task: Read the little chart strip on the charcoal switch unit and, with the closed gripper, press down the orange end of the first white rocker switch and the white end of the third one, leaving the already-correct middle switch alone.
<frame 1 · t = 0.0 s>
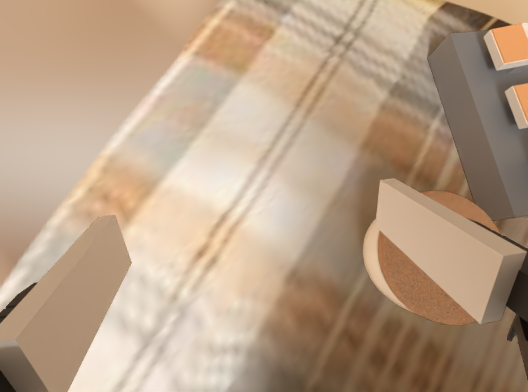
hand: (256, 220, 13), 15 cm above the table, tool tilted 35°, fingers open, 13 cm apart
lidded jar: (394, 254, 29), on the table
switch 3: (526, 43, 29), point 6 cm above the table, hinge at -10.0°
switch unit: (503, 128, 34), on the table
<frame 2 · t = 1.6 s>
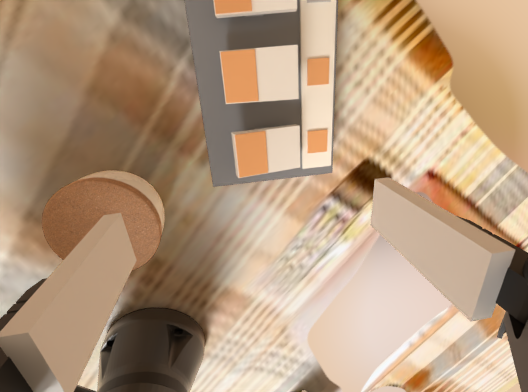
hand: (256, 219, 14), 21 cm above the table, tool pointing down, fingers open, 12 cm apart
switch 2: (260, 75, 24), point 6 cm above the table, hinge at -10.0°
lidded jar: (128, 199, 34), on the table
switch 1: (267, 150, 27), point 6 cm above the table, hinge at 10.0°
switch unit: (262, 76, 30), on the table
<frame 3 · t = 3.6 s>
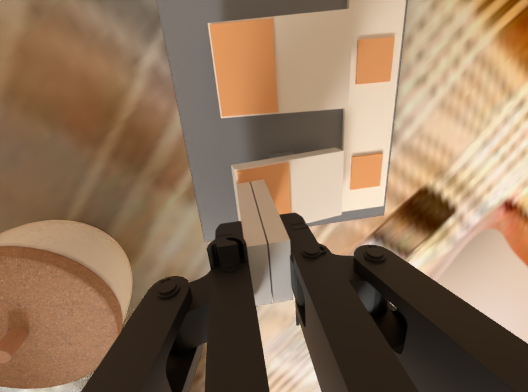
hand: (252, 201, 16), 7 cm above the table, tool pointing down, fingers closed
switch 2: (281, 68, 14), point 6 cm above the table, hinge at -10.0°
lidded jar: (83, 253, 23), on the table
switch 1: (291, 192, 17), point 6 cm above the table, hinge at 9.7°, touching gripper
switch unit: (278, 71, 20), on the table
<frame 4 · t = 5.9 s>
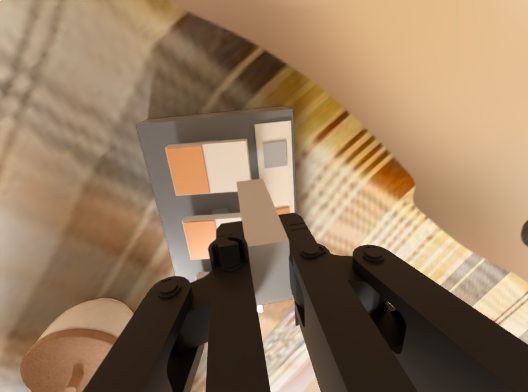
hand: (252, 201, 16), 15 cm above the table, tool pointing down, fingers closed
switch 2: (221, 236, 26), point 6 cm above the table, hinge at -10.0°
lidded jar: (107, 314, 35), on the table
switch 1: (230, 292, 29), point 6 cm above the table, hinge at -16.6°
switch 3: (210, 168, 23), point 6 cm above the table, hinge at -10.0°
switch unit: (230, 208, 32), on the table
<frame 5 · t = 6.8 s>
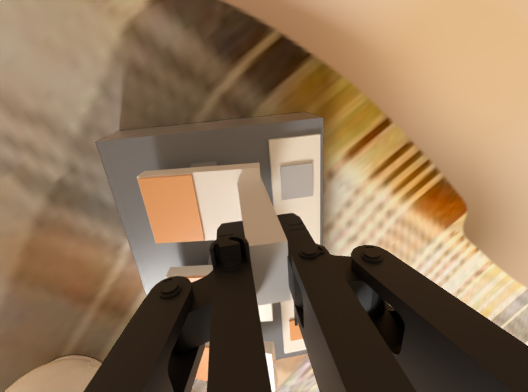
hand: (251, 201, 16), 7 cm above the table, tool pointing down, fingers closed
switch 2: (222, 295, 19), point 6 cm above the table, hinge at -10.0°
lidded jar: (77, 373, 28), on the table
switch 1: (233, 361, 21), point 6 cm above the table, hinge at -20.7°
switch 3: (205, 205, 16), point 6 cm above the table, hinge at -9.8°, touching gripper
switch unit: (233, 243, 24), on the table
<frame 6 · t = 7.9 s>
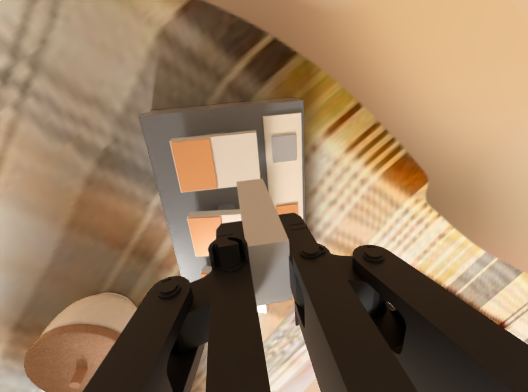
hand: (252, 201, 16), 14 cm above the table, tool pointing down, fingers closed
switch 2: (227, 233, 25), point 6 cm above the table, hinge at -10.0°
lidded jar: (111, 308, 35), on the table
switch 1: (235, 289, 28), point 6 cm above the table, hinge at -23.6°
switch 3: (217, 162, 22), point 6 cm above the table, hinge at -1.7°
switch unit: (236, 203, 31), on the table
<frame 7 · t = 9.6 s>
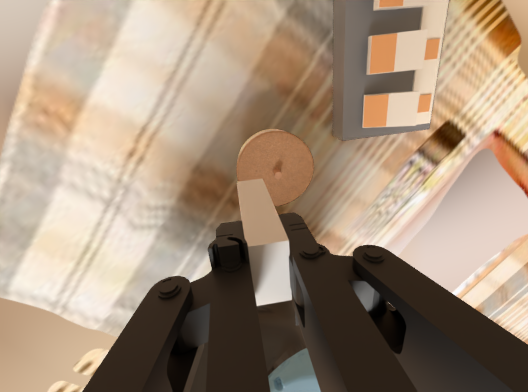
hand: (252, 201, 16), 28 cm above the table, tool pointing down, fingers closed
switch 2: (396, 52, 34), point 6 cm above the table, hinge at -10.0°
lidded jar: (267, 156, 44), on the table
switch 1: (389, 110, 37), point 6 cm above the table, hinge at -25.6°
switch unit: (378, 55, 40), on the table
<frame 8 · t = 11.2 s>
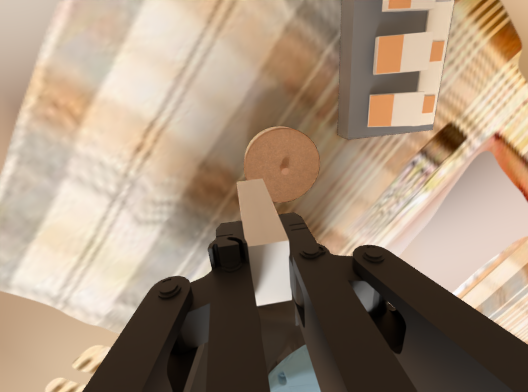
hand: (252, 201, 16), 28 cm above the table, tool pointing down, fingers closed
switch 2: (402, 53, 35), point 6 cm above the table, hinge at -10.0°
lidded jar: (272, 153, 44), on the table
switch 1: (394, 109, 38), point 6 cm above the table, hinge at -26.4°
switch unit: (383, 57, 41), on the table
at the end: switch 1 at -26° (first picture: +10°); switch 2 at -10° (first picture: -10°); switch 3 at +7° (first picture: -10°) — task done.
